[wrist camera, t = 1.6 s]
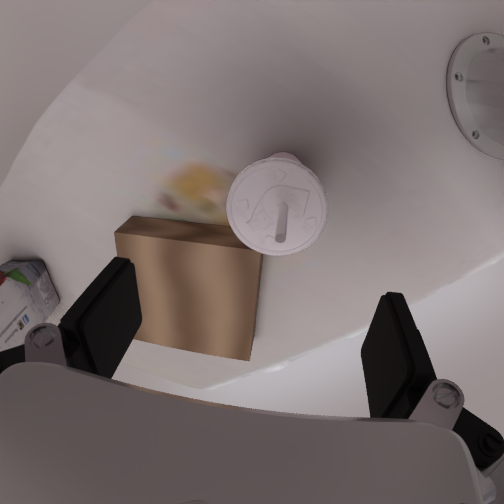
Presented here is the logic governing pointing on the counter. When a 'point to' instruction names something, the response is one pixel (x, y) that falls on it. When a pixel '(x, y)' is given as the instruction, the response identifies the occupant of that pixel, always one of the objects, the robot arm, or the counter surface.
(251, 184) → the smoothie
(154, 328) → the plinth
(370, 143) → the counter surface
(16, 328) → the juice carton
